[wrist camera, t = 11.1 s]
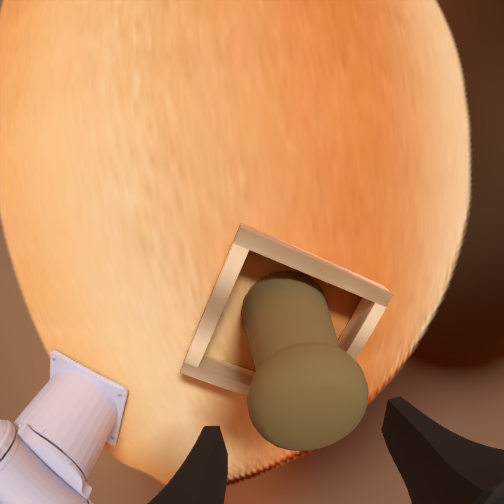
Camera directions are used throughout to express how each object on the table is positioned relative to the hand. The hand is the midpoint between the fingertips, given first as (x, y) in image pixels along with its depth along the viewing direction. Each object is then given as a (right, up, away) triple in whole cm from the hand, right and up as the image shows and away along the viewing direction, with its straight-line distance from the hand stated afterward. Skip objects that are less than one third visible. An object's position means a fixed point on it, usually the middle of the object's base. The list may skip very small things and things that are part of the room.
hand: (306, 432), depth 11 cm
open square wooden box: (0, +2, +10) cm, 10 cm away
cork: (0, +3, +10) cm, 11 cm away
